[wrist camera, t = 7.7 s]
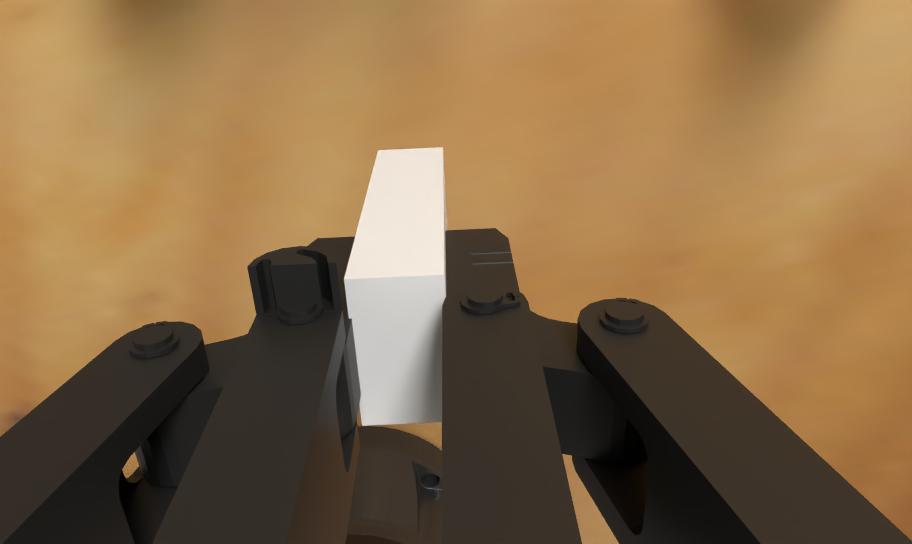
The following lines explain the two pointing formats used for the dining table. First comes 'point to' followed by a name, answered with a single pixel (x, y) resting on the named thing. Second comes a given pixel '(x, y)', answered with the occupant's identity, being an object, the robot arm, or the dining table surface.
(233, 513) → the robot arm
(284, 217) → the dining table surface
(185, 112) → the dining table surface
